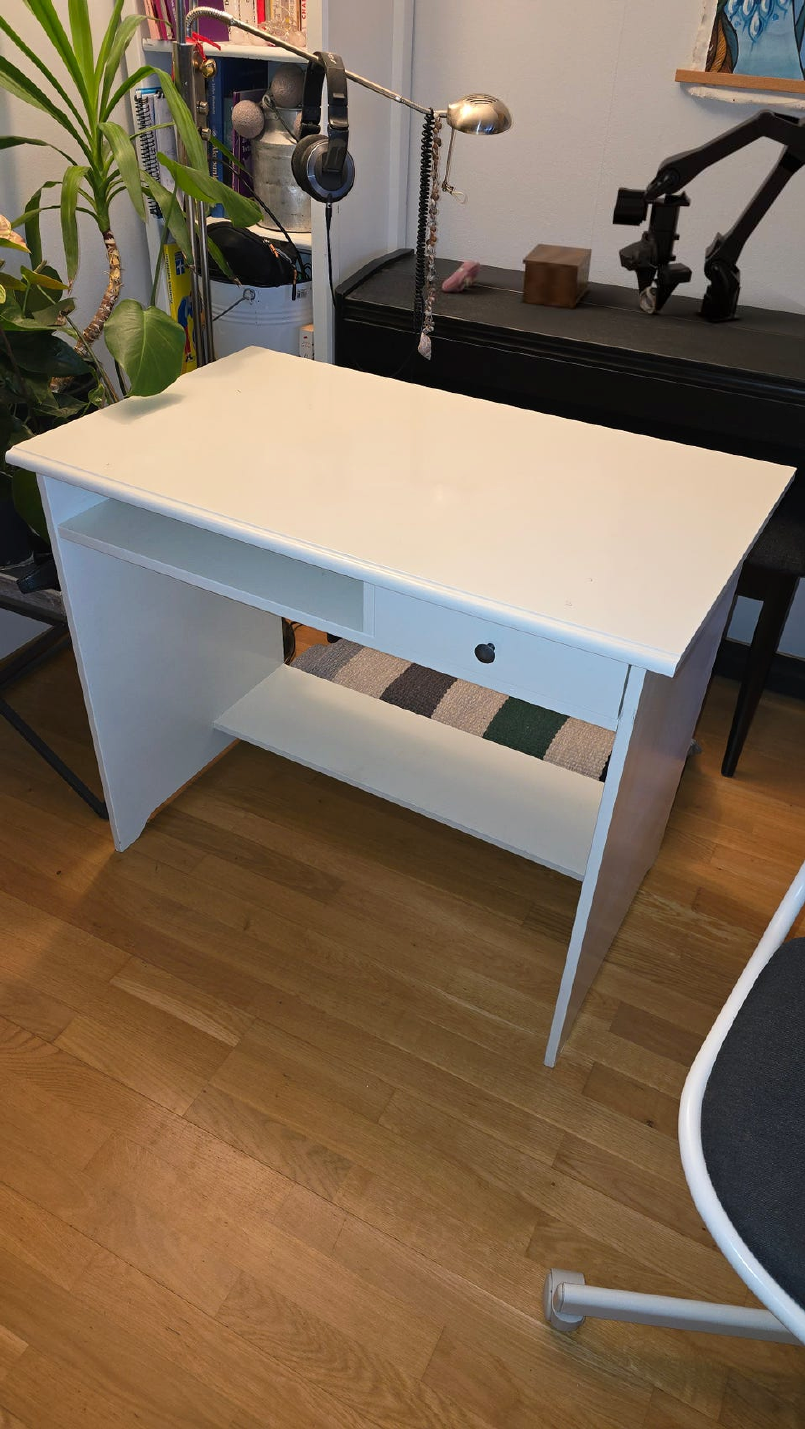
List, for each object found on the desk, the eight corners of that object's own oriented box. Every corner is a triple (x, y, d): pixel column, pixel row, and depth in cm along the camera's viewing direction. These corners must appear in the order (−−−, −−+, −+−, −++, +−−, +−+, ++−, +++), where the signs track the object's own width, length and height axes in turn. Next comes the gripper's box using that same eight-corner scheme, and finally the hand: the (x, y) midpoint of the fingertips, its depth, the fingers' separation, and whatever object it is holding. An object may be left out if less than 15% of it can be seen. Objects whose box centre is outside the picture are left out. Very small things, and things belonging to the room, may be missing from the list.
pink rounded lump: (454, 301, 223) (468, 275, 217) (439, 289, 223) (452, 262, 218) (475, 289, 229) (488, 263, 224) (460, 277, 229) (473, 251, 224)
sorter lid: (522, 263, 213) (522, 259, 212) (538, 247, 222) (538, 243, 221) (577, 269, 209) (578, 265, 209) (591, 253, 218) (591, 249, 218)
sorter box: (522, 302, 218) (525, 264, 213) (537, 284, 227) (540, 247, 222) (573, 308, 215) (577, 270, 209) (587, 290, 224) (591, 253, 218)
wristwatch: (648, 316, 211) (652, 292, 208) (634, 307, 215) (637, 283, 212) (663, 314, 212) (667, 290, 209) (648, 305, 216) (652, 281, 213)
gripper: (606, 219, 208) (596, 296, 218) (650, 244, 194) (638, 324, 204) (653, 214, 210) (641, 290, 220) (699, 239, 197) (685, 318, 207)
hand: (650, 305), depth 213 cm, fingers closed on wristwatch, 6 cm apart
